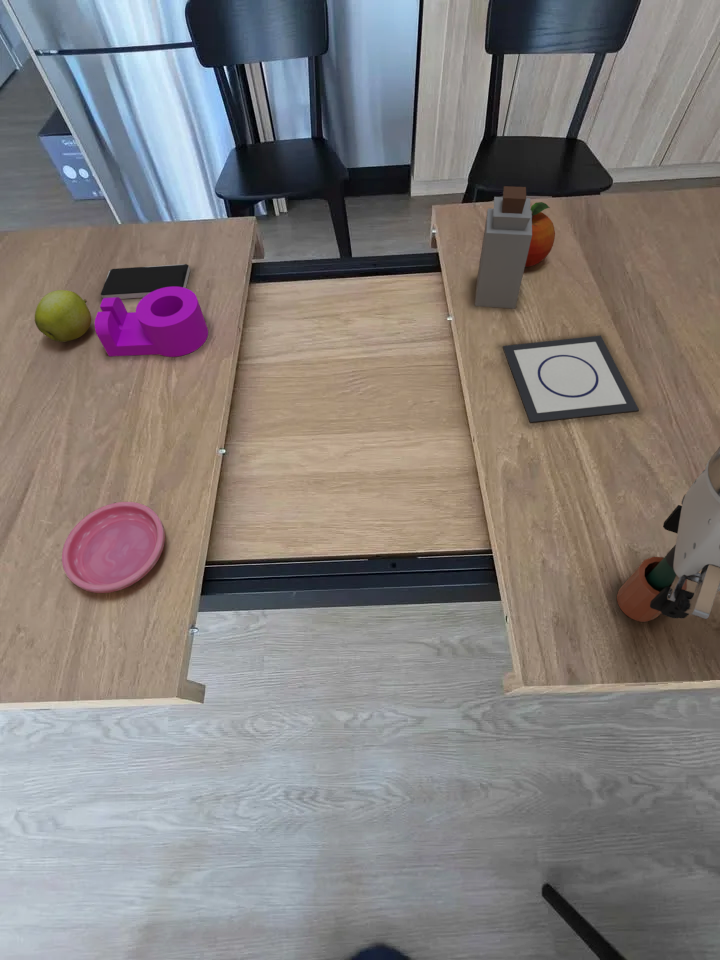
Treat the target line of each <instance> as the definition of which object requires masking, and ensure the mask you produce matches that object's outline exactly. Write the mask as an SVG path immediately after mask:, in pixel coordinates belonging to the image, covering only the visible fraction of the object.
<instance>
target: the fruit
mask: <svg viewBox="0 0 720 960" xmlns="http://www.w3.org/2000/svg"><path fill="white" fill-rule="evenodd" d="M547 209H551V207H550V206H549V205H548V204H547V203H545V202H543V201H539V202H537V201H536V202H535V203H534V204H532V205H530V210H532V238H531V242H530V247H529V251H528V255H527V260H526V264H525V268H526V267H527V268H529V267H534V266H536V265H537V264H539V263H540V262H543V261H544V260H545V259H546V257H548V255H549V254H550V253H551V251H552V249H553V247H554V243H555V239H556V238H555V237H556V230H555V226H554V222H553V221H552V220H551V218H550V217H549V216H548V215H546V214H545V213H544V210H547ZM542 211H543V212H542Z"/></svg>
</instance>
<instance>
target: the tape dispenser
mask: <svg viewBox="0 0 720 960" xmlns="http://www.w3.org/2000/svg"><path fill="white" fill-rule="evenodd" d="M99 309H100V310H101V311H97V312H96V316H95V318H94V330H95V334H96V336H97V338H98V339H99V342H100V343H101V345H102V347H103V349H104V350H105V352H106V354H107V355H108V357H126V356H127V357H129V356H151V355H152V356H153V355H160V356H162V357H167V358H168V357H169V358H175V357H183V356H187V355H188V354H191V353H193V352H195V351H197V350H198V349H200V348H201V347H202V346H203V345H204V344H205V342H206V341H207V340H208V337H209V329H208V326H207V323H206V319H205V317H204V314H203V311H202V308H201V305H200V303H199V300H198V297H197V295H196V294H195V293H194V291H193V290H191V289H189V288H187V287H186V288H183V287H176V286H173V287H165V288H160V289H157V290H155V291H153V292H151V293H149V294H147V295H146V296H145V297H142V298H141V299H140V300H139V302H138V303H137V305H136V306H135V311H132V312H131V311H130V312H128V310H127V308H126V306H125V304H124V302H123V299H120V298H119V297H112V298H102V300H101V302H100V305H99Z"/></svg>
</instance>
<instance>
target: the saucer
mask: <svg viewBox="0 0 720 960" xmlns="http://www.w3.org/2000/svg"><path fill="white" fill-rule="evenodd" d="M165 541H166V531H165V527H164V524H163V522H162V520H161V518H160V517H159V515H158V514H157V513H156V512H155V511H154V510H153V509H152V508H150V507H149V506H147V505H145V504H143V503H140V502H135V501H118V502H112V503H109V504H106V505H103V506H101V507H99V508H96V509H95V510H93V511H92V512H90V513H88V514H87V515H85V516H84V517H83V518H82V519H81V520H79V522H78V523H76V525H75V526H74V527H73V528H72V529H71V530H70V532H69V534H67V537H66V538H65V541H64V544H63V547H62V552H61V564H62V568H63V571H64V573H65V575H66V577H67V578H68V580H70V581H71V582H72V583H73V584H74V585H75V586H77V587H78V588H80V589H82V590H83V591H87V592H89V593H95V594H109V593H113V592H118V591H121V590H124V589H127V588H129V587H131V586H133V585H134V584H136V583H137V582H139V581H140V580H142V579H143V578H145V576H146V575H148V574H149V573H150V572H151V570H152V569H153V568H154V567H155V566H156V564H157V563H158V561H159V559H160V557H161V556H162V553H163V550H164V547H165Z"/></svg>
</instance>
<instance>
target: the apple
mask: <svg viewBox="0 0 720 960" xmlns="http://www.w3.org/2000/svg"><path fill="white" fill-rule="evenodd" d="M86 303H88V301H87V299H85V298H82V297H81V296H80V295H79V294H78V293H77V292H74V291H71V290H68V289H67V290H66V289H57V290H52V291H50V292H48V293H47V294H45V295H44V296H43V297H42V298H41V299H40V301H39V302H38V304H37V306H36V307H35V308H36V309H35V312H34V322H35V325H36V328H37V329H38V331H39V332H40V333H42V334H43V335H44V336H46V337H48V339H50V340H52V341H54V342H58V343H65V342H66V343H67V342H71V341H73V340H74V341H75V340H76V339H79V338H81V337H82V336H83V335H85V334H86V333H87V332H88V330H89V329H90V327H91V324H92V314H91V311H90V309H89V308H88V305H87V304H86Z"/></svg>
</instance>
